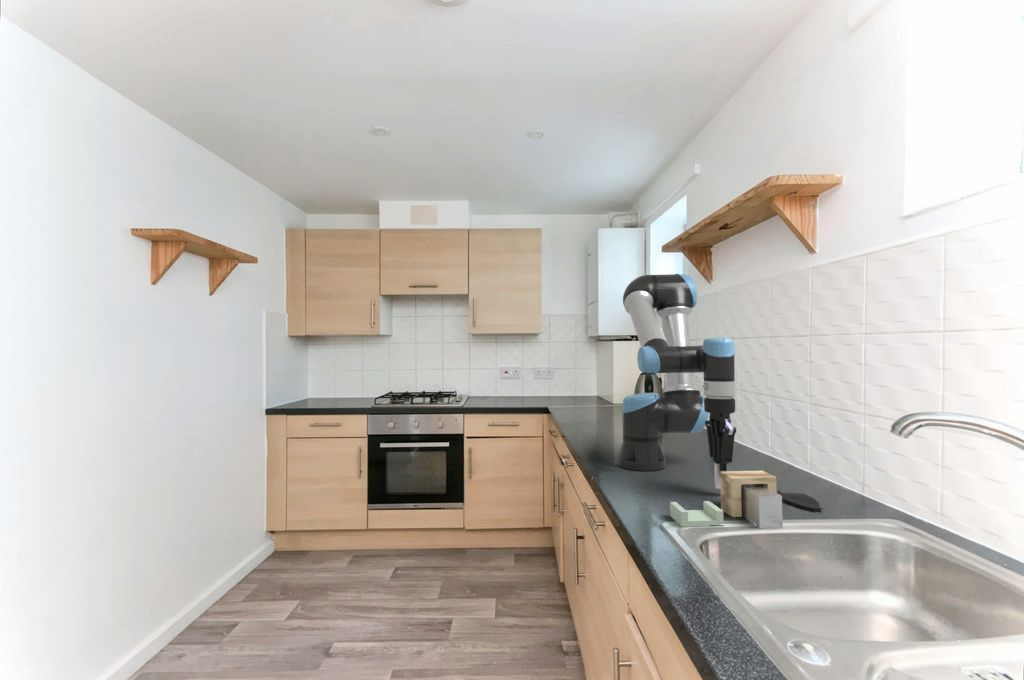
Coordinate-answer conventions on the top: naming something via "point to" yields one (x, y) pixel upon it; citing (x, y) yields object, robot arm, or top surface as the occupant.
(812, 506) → the fan shaped piece
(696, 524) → the cradle
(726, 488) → the block
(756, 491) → the steel bar
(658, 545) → the top surface
